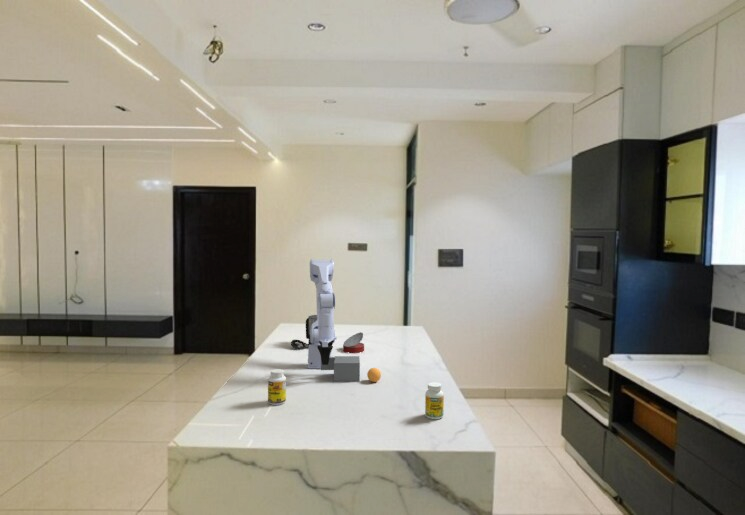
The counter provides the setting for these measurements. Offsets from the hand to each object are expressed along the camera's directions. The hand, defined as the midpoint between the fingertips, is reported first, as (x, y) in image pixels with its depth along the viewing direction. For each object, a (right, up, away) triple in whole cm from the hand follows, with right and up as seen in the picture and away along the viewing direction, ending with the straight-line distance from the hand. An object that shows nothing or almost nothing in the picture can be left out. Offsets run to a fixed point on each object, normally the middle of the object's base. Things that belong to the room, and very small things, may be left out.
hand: (325, 361), depth 167 cm
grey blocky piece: (+5, -6, +1) cm, 8 cm away
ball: (+18, -4, -4) cm, 19 cm away
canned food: (+9, -5, +41) cm, 42 cm away
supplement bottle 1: (-13, -7, -25) cm, 29 cm away
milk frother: (-13, -4, +46) cm, 48 cm away
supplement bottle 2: (+36, -8, -35) cm, 51 cm away
